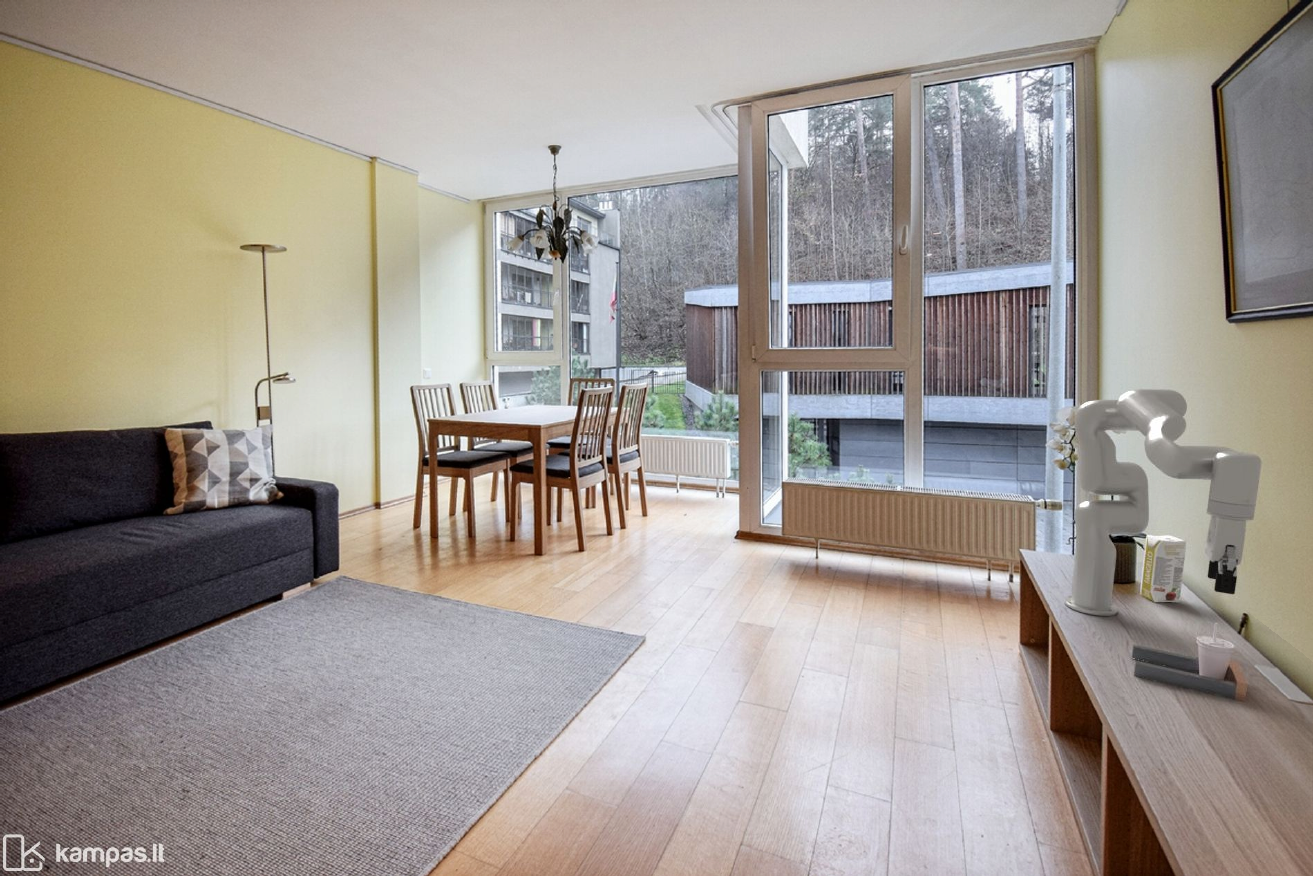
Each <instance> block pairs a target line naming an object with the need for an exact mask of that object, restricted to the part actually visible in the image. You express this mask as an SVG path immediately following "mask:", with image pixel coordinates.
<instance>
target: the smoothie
mask: <svg viewBox="0 0 1313 876" xmlns="http://www.w3.org/2000/svg"><path fill="white" fill-rule="evenodd" d="M1218 628H1219V623H1218V622H1215V623H1214V628H1213V633H1212V635H1213V636H1210V635H1200V636H1197V637H1196V641H1195V642H1196V644H1197V650H1198V651H1197V652H1198V658H1199V673H1198V675H1202V676H1206V677H1211V678H1215V679H1220V680H1224V681H1225V679H1224V677H1225V674H1226V671H1227V667H1228V664H1229V661H1231V659H1232V655H1233V653H1234V652H1235V651H1236V650H1235V648H1236V645H1235V644H1234V643H1232V642H1230V641H1228V640H1226V639H1224V638H1220V637H1218Z"/></svg>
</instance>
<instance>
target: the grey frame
mask: <svg viewBox="0 0 1313 876" xmlns="http://www.w3.org/2000/svg"><path fill="white" fill-rule="evenodd" d="M1132 658H1135V659H1134V660H1135V662H1134V669H1133V676H1134V677H1137V676H1139V677H1138V678H1141V677H1144V678H1143V679H1145V678H1148V679H1147V680H1150V679H1151V681H1154V680H1156V681H1155V682H1158V681H1159V682H1158V683H1163V684H1168V685H1172V686H1175V687H1181V688H1184V689H1189V690H1193V691H1197V692H1201V693H1206V694H1211V695H1215V696H1218V697H1224V698H1227V699H1232V700H1236V701H1240V702H1244V703H1245V702H1246V698H1247V697H1246V696H1247V691H1248V690H1247V689H1248V682H1247V680H1246V678H1245V675H1244V674H1243V671H1242V670H1241V669H1242V668H1241V667H1240V664H1239V663H1238V661H1233V660H1230V661H1229V664H1228V667H1227V671H1226V674H1225V677H1224V680H1220V679H1215V678H1211V677H1206V676H1202V675H1199V657H1195V656H1189V655H1185V654H1180V653H1175V652H1171V651H1165V650H1161V649H1156V648H1152V647H1146V646H1142V645H1138V644H1132V652H1131V659H1132ZM1136 659H1137V660H1136ZM1138 659H1139V660H1138ZM1140 660H1144V661H1140ZM1145 661H1148V662H1145ZM1149 662H1151V663H1149ZM1154 663H1156V664H1154ZM1158 664H1159V665H1158ZM1163 665H1165V666H1163ZM1172 667H1173V668H1172Z"/></svg>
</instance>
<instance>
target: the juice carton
mask: <svg viewBox="0 0 1313 876" xmlns="http://www.w3.org/2000/svg"><path fill="white" fill-rule="evenodd" d="M1144 544H1145V545H1144V551H1143V561H1142V568H1141V569H1142V571H1141V579H1140V596H1141V595H1142V596H1141V597H1144V598H1145V599H1147V598H1148V599H1147V600H1149V599H1150V601H1151V600H1152V601H1151V602H1153V601H1154V602H1153V603H1155V602H1180V600H1181V598H1180V597H1181V594H1182V593H1181V590H1182V586H1183V576H1184V567H1185V559H1186V551H1187V550H1186V549H1187V541H1186V540H1185V539H1181V538H1178V537H1176V536H1173V535H1170V534H1169V535H1168V534H1167V535H1153V534H1150V535H1149V534H1146V538H1145V543H1144Z"/></svg>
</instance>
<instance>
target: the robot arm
mask: <svg viewBox="0 0 1313 876" xmlns="http://www.w3.org/2000/svg"><path fill="white" fill-rule="evenodd" d="M1187 409H1188V404H1187V401H1186V399H1185V397H1184V395H1182V394H1181V393H1180V392H1178V391H1176V390H1172V389H1165V388H1164V389H1156V388H1155V389H1151V388H1150V389H1149V388H1148V389H1146V388H1145V389H1143V388H1141V389H1140V388H1139V389H1133V390H1128V391H1126V392H1125V393H1123V394H1122V395H1120V397H1118V399H1094V400H1090V401H1087V402H1084V403H1082V404H1081V405H1080V406H1079V407H1078V409H1077V410H1076V412H1075V416H1074V421H1073V422H1074V430H1075V431H1074V432H1075V434H1076V437H1077V442H1078V448H1079V478H1080V479H1079V480H1080V486H1081V489H1082V490H1083V492H1085V493H1087V494H1089V495H1096V496H1118V497H1119V499H1117V500H1115V499H1114V500H1113V499H1112V500H1111V499H1091V500H1085V501H1082V502H1080V503H1079V504H1078V505H1077V506H1076V507H1075V509H1074V522H1075V531H1076V536H1075V537H1076V538H1075V552H1074V560H1073V561H1074V563H1073V574H1072V583H1071V595H1070V596H1069V595H1068V596H1066V597H1065V598H1064V600H1063V601H1064V602H1063V603H1064V605H1066V606H1067V607H1068V608H1070V609H1072V610H1073V611H1077V612H1080V613H1083V614H1087V615H1093V616H1100V617H1101V616H1102V617H1109V616H1114V615H1116V614H1117V613H1118V607H1117V606H1116V605H1115V604H1113V603H1112V599H1113V588H1114V580H1115V569H1116V560H1117V550H1116V546H1115V545H1114V543H1113V542H1112V540H1111V538H1110V536H1111V535H1138V534H1141V533H1143V532H1144V531H1146V530H1147V527H1148V526H1149V519H1150V509H1149V508H1150V505H1149V503H1150V500H1149V499H1150V498H1149V481H1148V476H1147V473H1146V471H1145V469H1144V468H1143V467H1142V466H1140V464H1137V463H1135V462H1129V461H1117V447H1116V444H1115V443H1114V441H1113V439H1112V438H1111V436H1110V435H1109V434H1108V433H1107V431H1126V432H1127V431H1128V432H1129V431H1131V432H1132V431H1135V432H1136V431H1138V432H1140V433H1141V434H1142V435H1143V436H1144V437H1145V438H1144V439H1145V440H1144V452H1145V455H1146V457H1147V459H1148V460H1149V461H1150V462H1151V464H1152V465H1154V466H1155V467H1156V468H1157V469H1158V470H1159V471H1161V472H1162V473H1163V474H1164V475H1166V476H1168V477H1170V478H1173V479H1177V480H1206V481H1208V480H1209V481H1210V485H1209V486H1210V487H1209V494H1208V501H1207V509H1206V514H1207V515H1209V516H1210V520H1209V523H1208V525H1209V526H1208V530H1207V538H1206V542H1205V547H1204V553H1205V555H1206V557H1207V558H1208V559H1209V561H1208V562H1209V563H1208V571H1207V578H1208V579H1211V580H1215V581H1214V589H1213V590H1214V592H1216V593H1223V594H1228V595H1235V592H1236V587H1237V580H1238V576H1237V575H1238V573H1237V572H1238V570H1237V569H1238V566H1239V565H1241V563H1242V559H1243V554H1244V553H1243V552H1244V547H1245V538H1246V530H1247V521H1253V520H1255V511H1256V506H1257V505H1256V504H1257V500H1258V499H1257V497H1258V491H1259V484H1260V483H1259V482H1260V479H1261V478H1260V477H1261V470H1262V459H1261V457H1260V456H1258V455H1257V454H1254V453H1248V452H1244V451H1243V452H1242V451H1241V452H1240V451H1237V450H1235V449H1232V448H1229V447H1226V446H1218V445H1216V446H1213V445H1212V446H1210V445H1209V446H1208V445H1179V444H1178V443H1176V442H1175V441H1176V440H1178V439H1179V438H1180V437H1182V435H1183V434H1184V432H1185V431H1186V427H1187V422H1186V419H1185V418H1184V416H1185V415H1186V413H1187Z"/></svg>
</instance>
